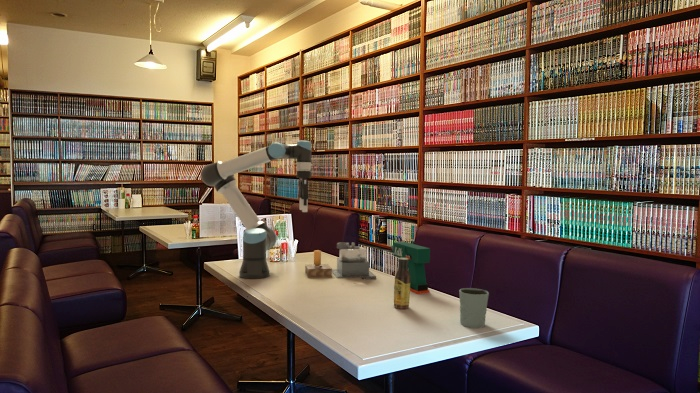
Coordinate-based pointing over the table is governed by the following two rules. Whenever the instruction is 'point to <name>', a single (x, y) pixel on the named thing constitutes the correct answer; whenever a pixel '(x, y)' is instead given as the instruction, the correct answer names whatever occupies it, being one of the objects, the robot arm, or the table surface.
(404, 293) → the sauce bottle
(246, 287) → the table surface
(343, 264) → the stand
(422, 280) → the power tool
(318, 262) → the orange rounded rod
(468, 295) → the grey cup
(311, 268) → the wooden hole block
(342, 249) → the chuck
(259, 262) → the robot arm
